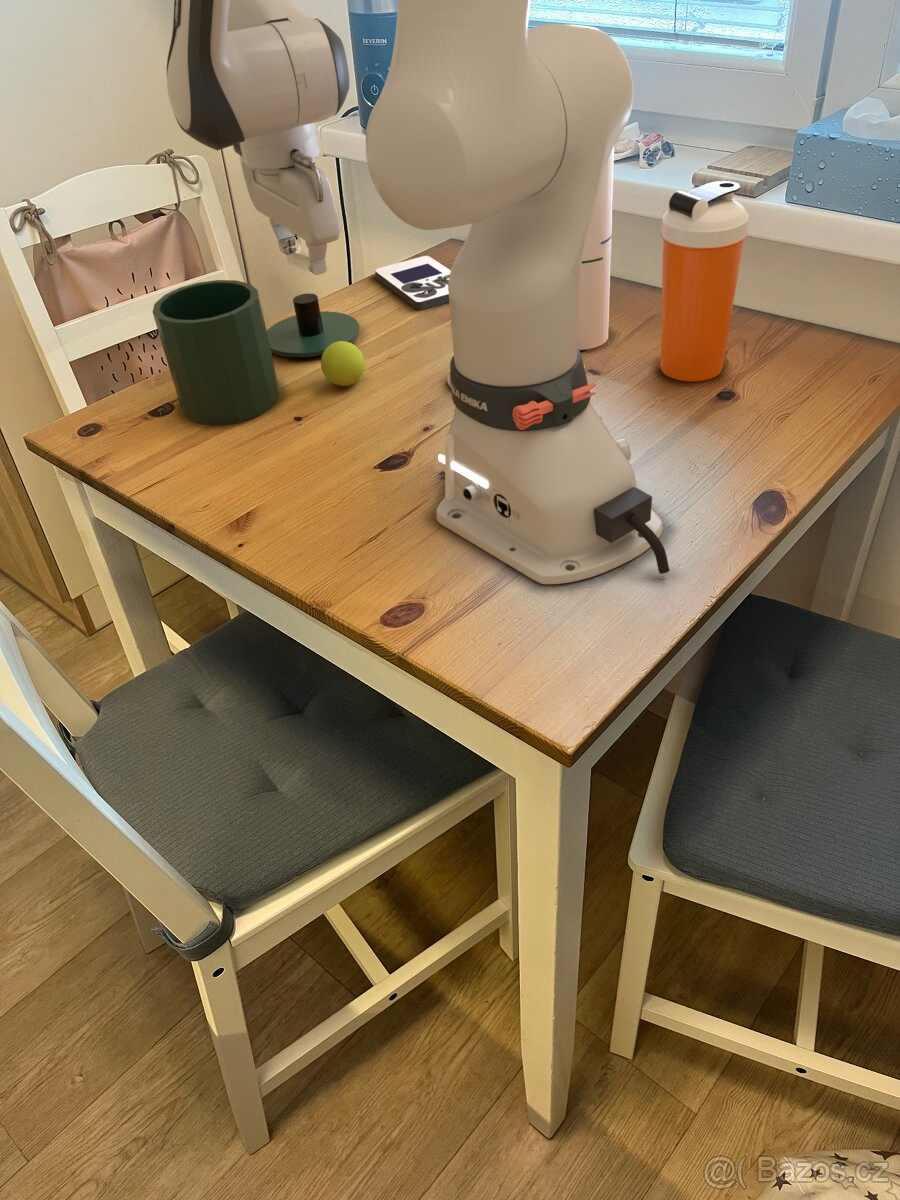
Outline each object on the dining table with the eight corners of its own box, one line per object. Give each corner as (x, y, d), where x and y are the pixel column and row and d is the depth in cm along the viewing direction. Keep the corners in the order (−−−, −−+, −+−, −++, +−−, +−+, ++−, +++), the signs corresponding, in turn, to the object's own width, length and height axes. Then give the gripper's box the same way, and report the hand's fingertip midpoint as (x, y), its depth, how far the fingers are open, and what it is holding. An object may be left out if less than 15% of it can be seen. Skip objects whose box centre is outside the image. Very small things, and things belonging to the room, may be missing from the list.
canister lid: (376, 342, 122) (370, 300, 118) (287, 371, 117) (278, 328, 114) (335, 311, 130) (328, 271, 127) (251, 337, 126) (241, 296, 122)
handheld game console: (428, 262, 141) (427, 253, 140) (475, 294, 131) (474, 285, 130) (374, 277, 139) (373, 268, 138) (418, 311, 128) (417, 301, 127)
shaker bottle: (747, 367, 108) (771, 187, 96) (694, 394, 105) (712, 210, 92) (688, 344, 114) (703, 171, 101) (636, 368, 110) (645, 192, 98)
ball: (374, 384, 113) (368, 344, 109) (335, 398, 111) (328, 357, 108) (355, 369, 116) (349, 329, 113) (317, 382, 114) (310, 342, 111)
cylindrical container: (619, 333, 118) (628, 116, 102) (586, 354, 114) (590, 133, 98) (573, 320, 122) (574, 109, 106) (539, 341, 118) (535, 125, 102)
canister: (294, 404, 111) (272, 302, 102) (201, 435, 107) (171, 332, 98) (258, 369, 118) (235, 271, 110) (170, 397, 114) (140, 298, 106)
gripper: (342, 153, 102) (361, 278, 111) (273, 123, 116) (295, 236, 125) (288, 166, 100) (313, 293, 109) (225, 134, 114) (251, 248, 123)
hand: (303, 262), depth 117 cm, fingers open, 8 cm apart
